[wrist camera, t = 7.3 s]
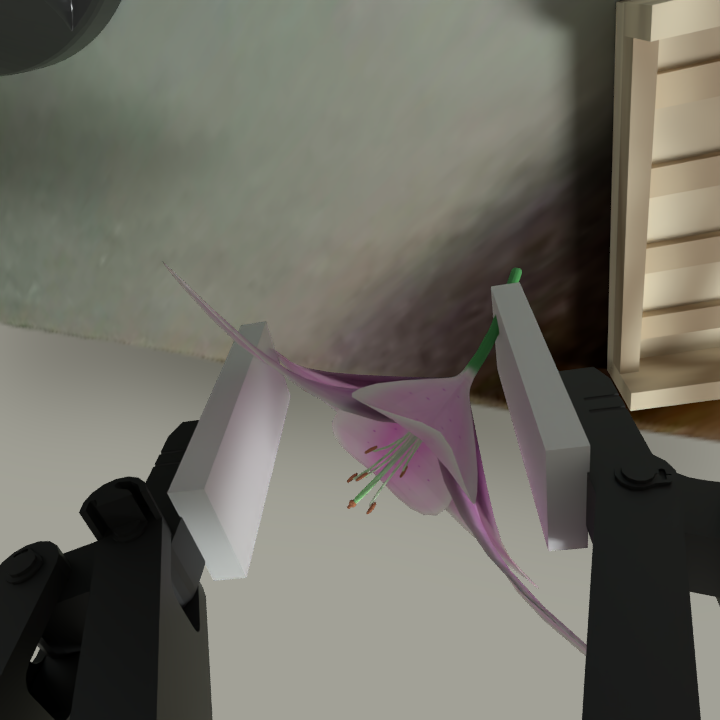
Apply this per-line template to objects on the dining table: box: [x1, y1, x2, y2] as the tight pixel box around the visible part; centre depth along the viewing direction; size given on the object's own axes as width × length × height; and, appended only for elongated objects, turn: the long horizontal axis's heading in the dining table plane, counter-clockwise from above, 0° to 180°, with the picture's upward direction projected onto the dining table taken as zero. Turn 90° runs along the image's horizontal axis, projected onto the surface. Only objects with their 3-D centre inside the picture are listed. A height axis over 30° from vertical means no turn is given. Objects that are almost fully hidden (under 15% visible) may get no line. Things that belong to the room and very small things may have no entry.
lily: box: [162, 261, 587, 655], centre depth 15 cm, size 12×12×10 cm
